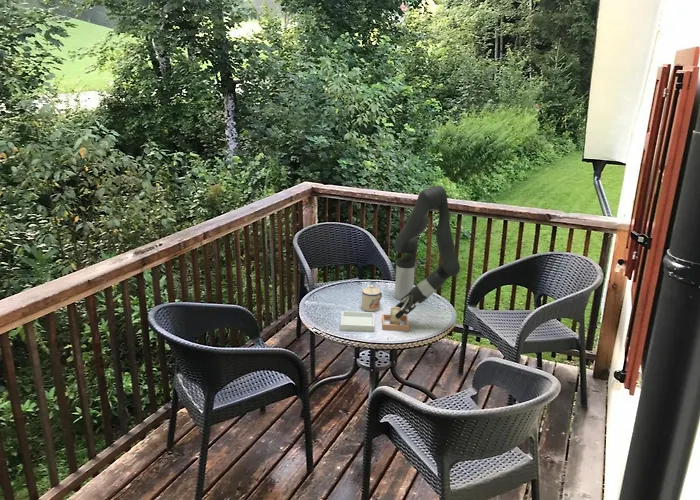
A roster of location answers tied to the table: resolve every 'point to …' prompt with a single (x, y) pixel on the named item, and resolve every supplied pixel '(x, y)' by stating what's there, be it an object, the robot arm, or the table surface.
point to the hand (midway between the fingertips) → (395, 313)
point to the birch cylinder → (392, 317)
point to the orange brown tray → (393, 326)
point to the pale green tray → (357, 321)
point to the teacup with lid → (371, 298)
